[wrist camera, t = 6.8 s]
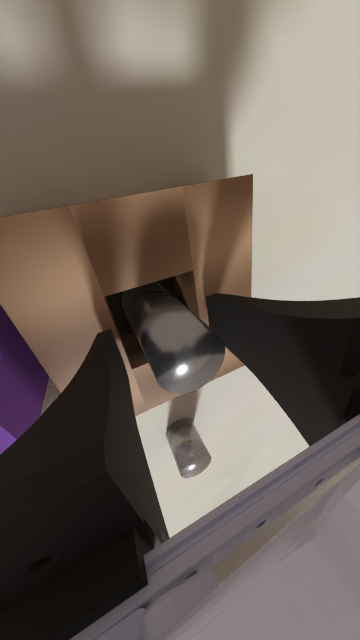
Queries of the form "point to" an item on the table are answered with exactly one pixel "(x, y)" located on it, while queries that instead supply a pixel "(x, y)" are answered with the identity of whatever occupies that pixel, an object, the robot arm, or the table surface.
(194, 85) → the table surface
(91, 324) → the hole block
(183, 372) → the tall pin
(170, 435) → the short pin
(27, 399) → the bracket
